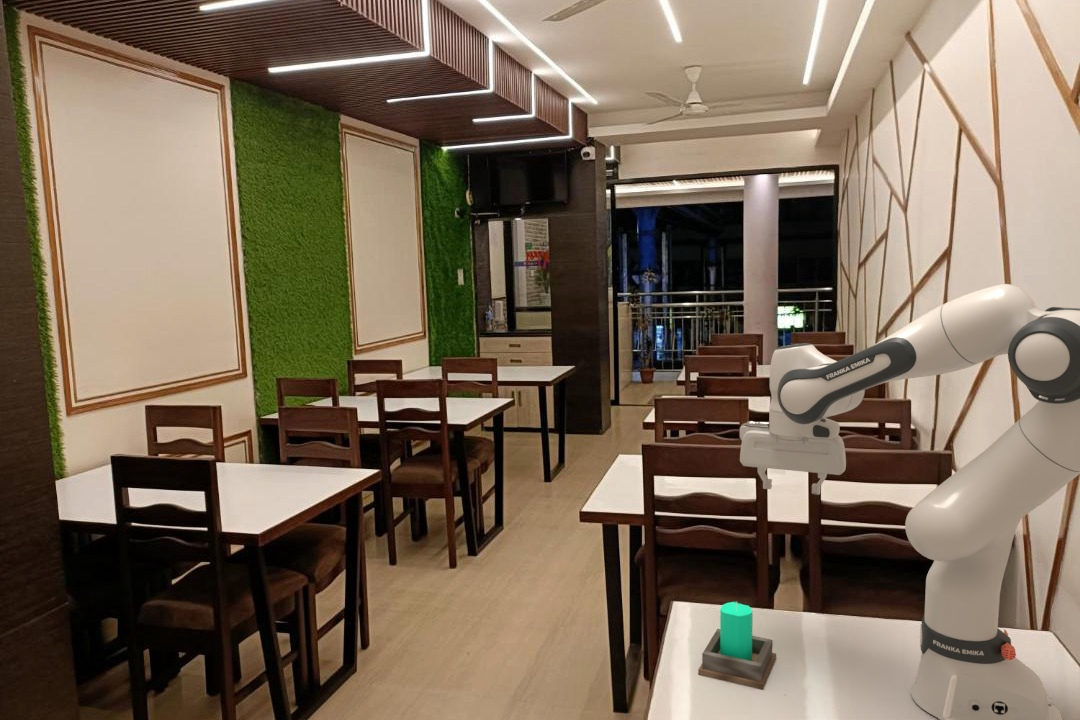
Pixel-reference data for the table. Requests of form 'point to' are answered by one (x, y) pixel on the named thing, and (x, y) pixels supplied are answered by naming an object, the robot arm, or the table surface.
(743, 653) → the candle
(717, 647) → the holder
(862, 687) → the table surface
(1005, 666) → the robot arm
